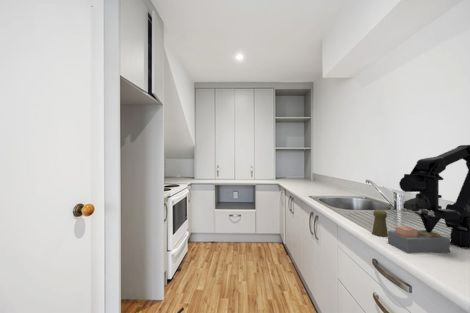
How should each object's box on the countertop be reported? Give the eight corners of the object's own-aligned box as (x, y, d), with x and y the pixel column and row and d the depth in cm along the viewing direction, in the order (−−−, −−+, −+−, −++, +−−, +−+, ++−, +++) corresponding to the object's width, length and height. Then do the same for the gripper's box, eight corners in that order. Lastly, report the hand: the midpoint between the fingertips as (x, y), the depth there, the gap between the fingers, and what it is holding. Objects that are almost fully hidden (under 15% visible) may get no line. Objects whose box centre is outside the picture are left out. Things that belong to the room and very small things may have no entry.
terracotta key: (407, 240, 92) (407, 226, 92) (417, 245, 87) (417, 229, 87) (395, 240, 91) (395, 226, 91) (405, 245, 87) (405, 229, 87)
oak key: (428, 244, 92) (428, 230, 92) (440, 249, 87) (440, 234, 87) (417, 244, 92) (417, 230, 92) (428, 249, 87) (428, 234, 87)
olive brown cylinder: (380, 237, 101) (380, 211, 101) (368, 232, 107) (369, 208, 107) (391, 236, 102) (391, 211, 102) (379, 232, 108) (379, 208, 108)
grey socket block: (425, 242, 95) (425, 230, 95) (449, 252, 85) (449, 238, 85) (388, 243, 94) (388, 230, 94) (407, 253, 84) (407, 239, 84)
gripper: (391, 188, 99) (391, 225, 98) (430, 195, 80) (430, 241, 80) (416, 188, 99) (416, 225, 99) (461, 195, 81) (461, 240, 80)
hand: (428, 232), depth 90 cm, fingers closed, pressing on oak key
